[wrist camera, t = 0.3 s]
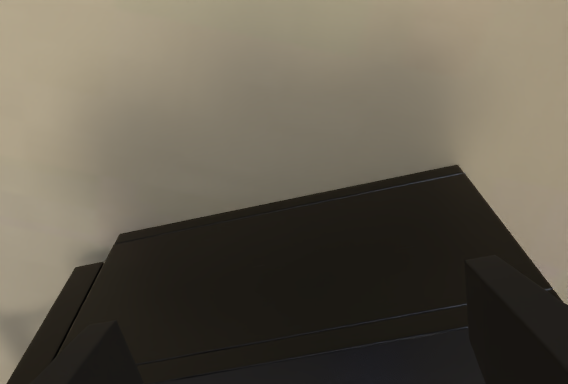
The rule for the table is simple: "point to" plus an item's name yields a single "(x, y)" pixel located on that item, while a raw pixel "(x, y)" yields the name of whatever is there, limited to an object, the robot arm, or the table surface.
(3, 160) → the table surface
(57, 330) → the drawer
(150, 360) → the cabinet
